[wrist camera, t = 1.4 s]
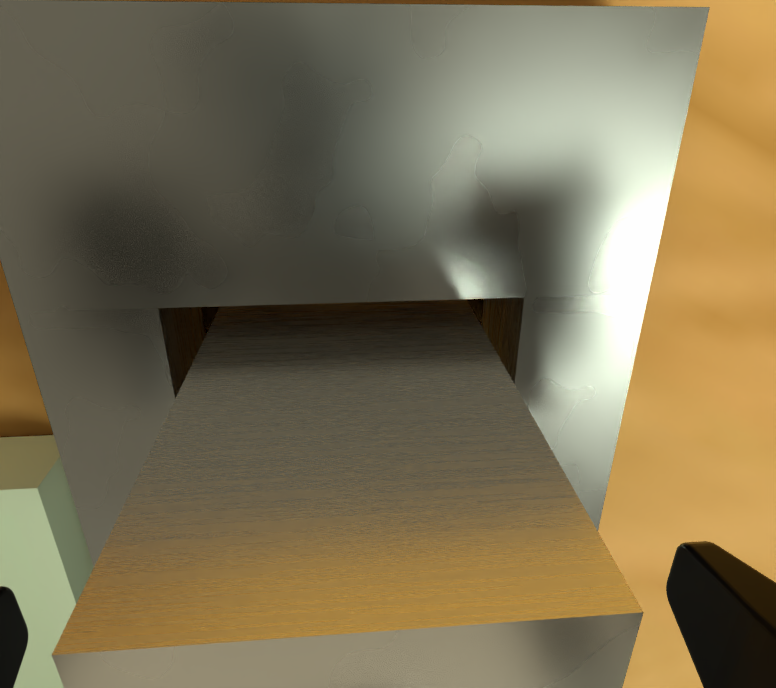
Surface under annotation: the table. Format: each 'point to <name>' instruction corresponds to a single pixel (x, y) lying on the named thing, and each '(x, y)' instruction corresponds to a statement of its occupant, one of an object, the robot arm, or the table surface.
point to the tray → (40, 549)
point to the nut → (351, 521)
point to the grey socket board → (331, 195)
